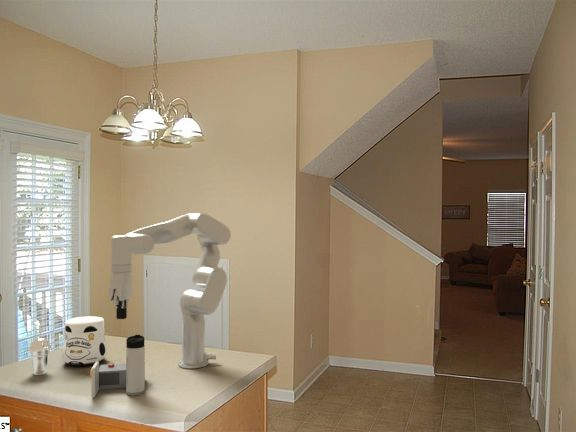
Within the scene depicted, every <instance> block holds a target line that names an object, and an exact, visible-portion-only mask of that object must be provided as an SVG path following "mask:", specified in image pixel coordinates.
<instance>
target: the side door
mask: <svg viewBox="0 0 576 432" xmlns="http://www.w3.org/2000/svg"><path fill="white" fill-rule="evenodd" d="M92 365H93V366H92V367H91V369H90V371H89V373H90V374H89V378H90V379H91V398H95V397H96V395H97V393H98V391H99V390H100V389H99V368H100V362H99V361H96V362H95V363H94V364H92Z"/></svg>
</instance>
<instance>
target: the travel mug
mask: <svg viewBox="0 0 576 432" xmlns="http://www.w3.org/2000/svg"><path fill="white" fill-rule="evenodd" d="M125 340H126V342H125V343H126V345H125V346H126V347H125V348H126V349H125V350H126V351H125V352H126V354H125V355H126V356H125V357H126V358H125V359H126V361H125V362H126V363H125V364H126V390H125V394H126V395H128V396H130V397H136V396H140V395H143V394H144V393H145V384H146V383H145V380H146V377H145V376H146V362H145V357H146V356H145V353H146V351H145V350H146V348H145V336H143V335H141V334H135V335H131V336H129V337H127V338H126V339H125Z"/></svg>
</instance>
